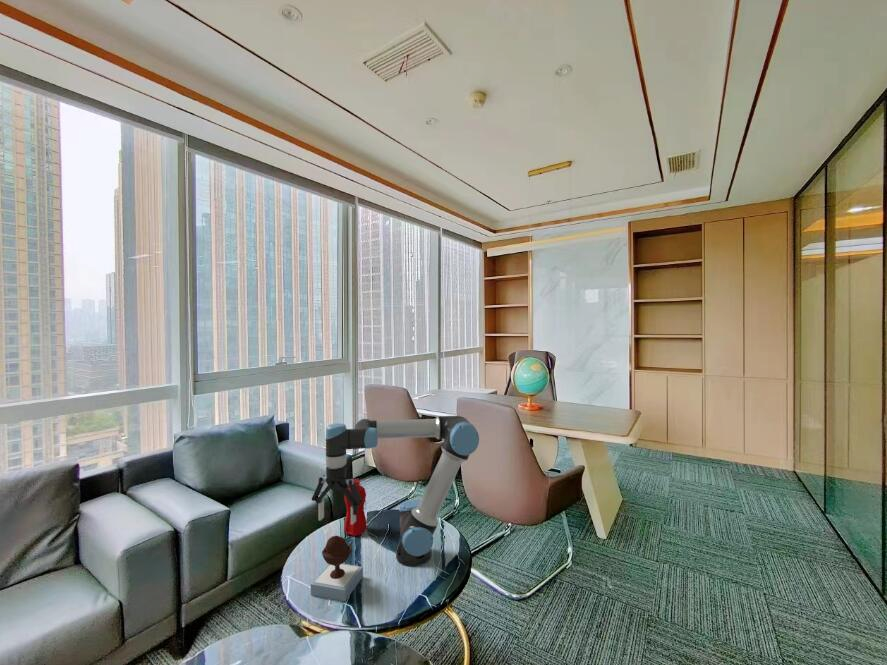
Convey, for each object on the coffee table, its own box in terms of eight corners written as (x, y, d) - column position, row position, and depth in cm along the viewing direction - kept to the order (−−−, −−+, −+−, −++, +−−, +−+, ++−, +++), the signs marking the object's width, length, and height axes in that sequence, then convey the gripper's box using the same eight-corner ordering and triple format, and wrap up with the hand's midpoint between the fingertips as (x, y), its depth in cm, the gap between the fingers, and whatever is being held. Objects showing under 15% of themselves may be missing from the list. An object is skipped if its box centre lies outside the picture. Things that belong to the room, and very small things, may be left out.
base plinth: (362, 576, 151) (362, 565, 151) (345, 601, 137) (344, 589, 137) (331, 571, 154) (331, 560, 154) (310, 594, 141) (310, 583, 140)
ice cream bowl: (353, 580, 142) (352, 539, 142) (321, 586, 139) (321, 545, 139) (351, 563, 152) (351, 525, 152) (322, 568, 149) (321, 530, 149)
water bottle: (360, 539, 178) (359, 485, 177) (341, 534, 182) (341, 481, 182) (372, 529, 186) (371, 478, 186) (354, 525, 191) (353, 475, 190)
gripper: (370, 464, 146) (371, 519, 146) (313, 459, 152) (313, 512, 152) (361, 471, 139) (362, 529, 139) (301, 466, 145) (302, 521, 145)
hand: (337, 520), depth 146 cm, fingers open, 13 cm apart
